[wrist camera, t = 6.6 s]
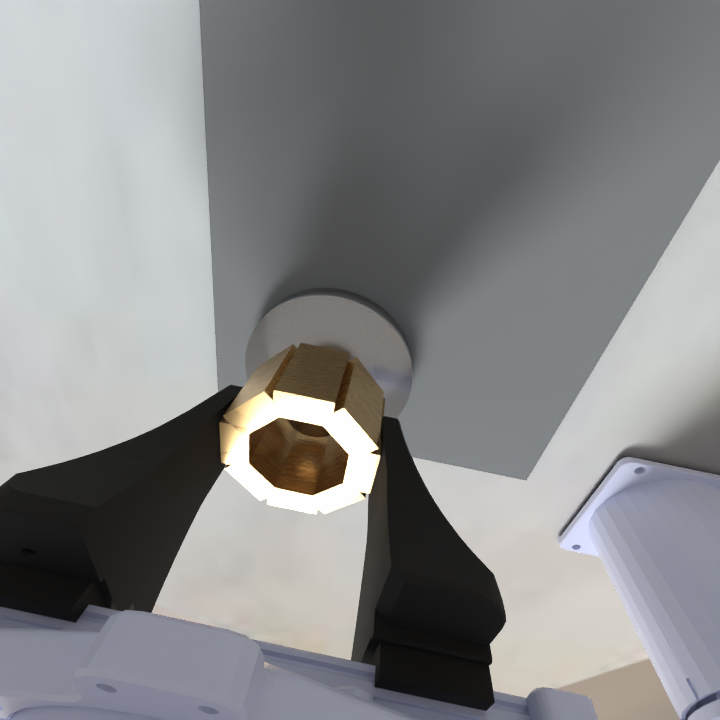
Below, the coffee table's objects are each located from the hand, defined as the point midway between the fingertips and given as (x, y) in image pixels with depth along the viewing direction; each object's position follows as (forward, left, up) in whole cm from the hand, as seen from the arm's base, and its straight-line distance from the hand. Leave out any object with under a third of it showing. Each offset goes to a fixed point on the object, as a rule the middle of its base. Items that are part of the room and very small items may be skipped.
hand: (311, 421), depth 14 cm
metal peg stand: (0, 0, -4) cm, 4 cm away
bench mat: (-3, -5, -5) cm, 8 cm away
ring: (0, 0, -1) cm, 1 cm away
